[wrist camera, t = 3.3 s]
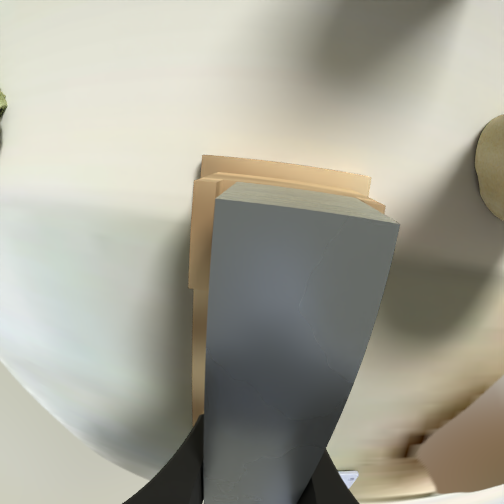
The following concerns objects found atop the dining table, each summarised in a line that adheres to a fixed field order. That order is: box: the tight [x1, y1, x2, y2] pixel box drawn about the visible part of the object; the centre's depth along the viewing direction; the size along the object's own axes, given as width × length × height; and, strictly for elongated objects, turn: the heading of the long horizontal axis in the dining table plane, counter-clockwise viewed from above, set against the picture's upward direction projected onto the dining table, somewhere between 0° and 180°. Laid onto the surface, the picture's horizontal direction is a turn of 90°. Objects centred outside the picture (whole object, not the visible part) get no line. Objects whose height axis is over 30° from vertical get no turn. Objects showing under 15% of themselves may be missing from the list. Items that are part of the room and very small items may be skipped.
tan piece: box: [188, 155, 385, 427], centre depth 14 cm, size 19×8×5 cm, turn 174°
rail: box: [204, 182, 400, 504], centre depth 9 cm, size 18×3×3 cm, turn 174°
